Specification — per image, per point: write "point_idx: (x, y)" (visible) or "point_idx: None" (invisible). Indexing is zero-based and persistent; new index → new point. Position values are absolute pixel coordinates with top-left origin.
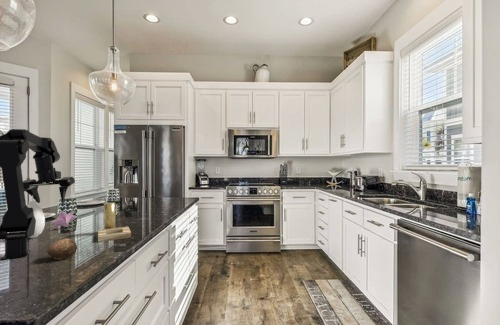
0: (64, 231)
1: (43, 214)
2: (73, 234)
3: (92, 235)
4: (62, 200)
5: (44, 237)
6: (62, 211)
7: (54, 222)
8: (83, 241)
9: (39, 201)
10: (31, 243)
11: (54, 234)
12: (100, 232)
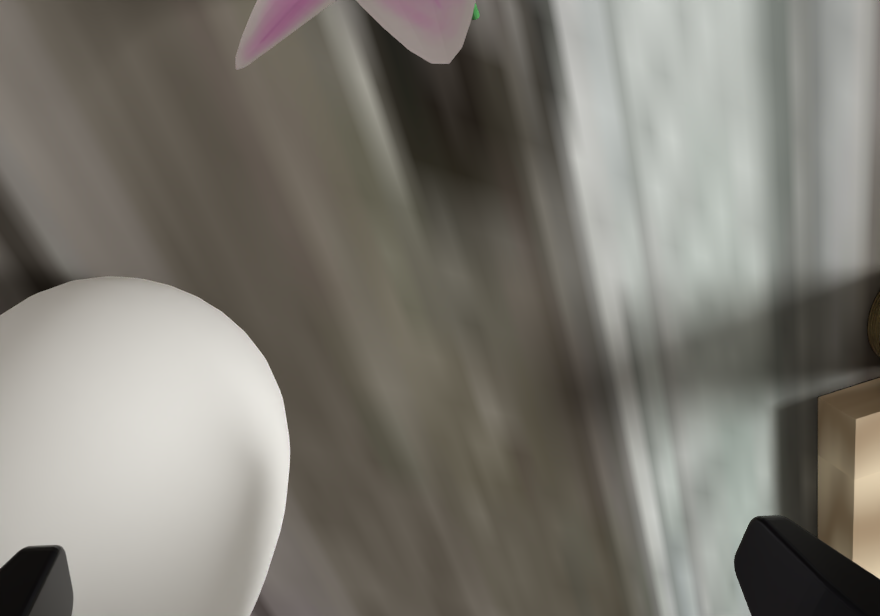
0: (434, 118)
1: (274, 498)
2: (585, 322)
3: (769, 412)
4: (751, 589)
5: (297, 377)
6: (470, 17)
7: (272, 8)
8: (716, 589)
9: (54, 598)
10: (272, 583)
11: (360, 257)
12: (870, 518)
